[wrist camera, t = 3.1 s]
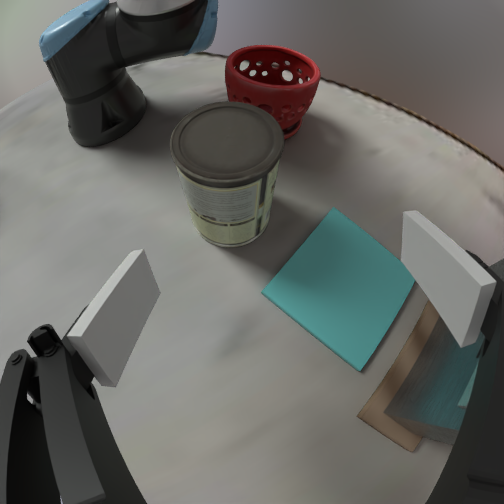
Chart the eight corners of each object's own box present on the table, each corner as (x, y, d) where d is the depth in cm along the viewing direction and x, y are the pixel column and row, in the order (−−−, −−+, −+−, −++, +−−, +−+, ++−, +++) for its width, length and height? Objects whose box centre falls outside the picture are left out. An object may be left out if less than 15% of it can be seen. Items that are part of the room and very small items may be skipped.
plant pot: (285, 163, 41) (299, 100, 29) (210, 130, 43) (205, 69, 31) (318, 116, 45) (333, 61, 34) (251, 90, 47) (254, 35, 36)
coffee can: (187, 186, 39) (168, 109, 25) (260, 174, 40) (269, 96, 27) (195, 255, 35) (171, 191, 22) (278, 241, 36) (298, 172, 23)
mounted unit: (442, 269, 36) (524, 215, 19) (480, 308, 33) (563, 272, 17) (356, 416, 28) (448, 448, 12) (406, 449, 26) (498, 481, 10)
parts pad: (331, 209, 38) (333, 206, 37) (414, 277, 35) (417, 276, 34) (261, 293, 34) (261, 291, 33) (357, 370, 30) (360, 371, 30)
